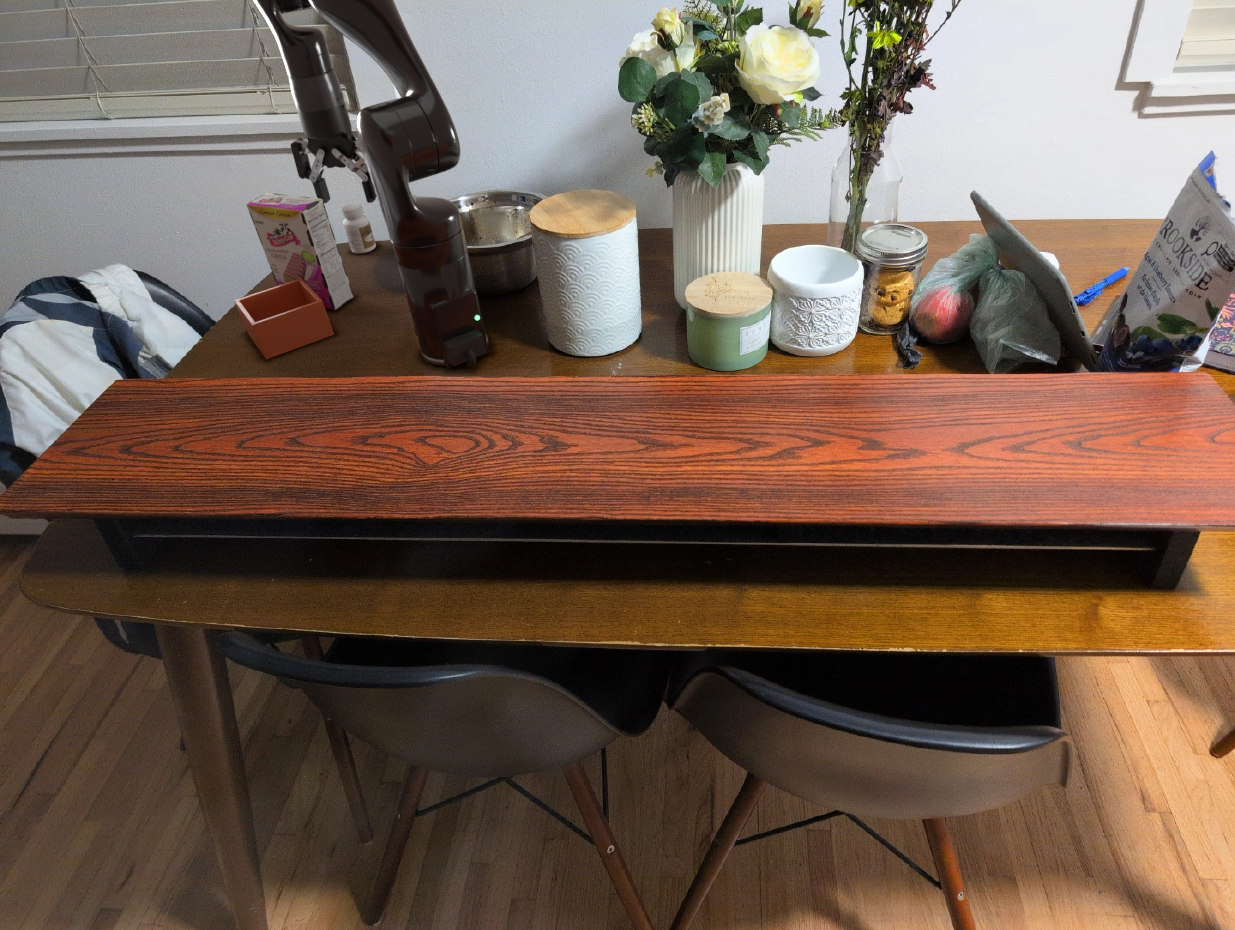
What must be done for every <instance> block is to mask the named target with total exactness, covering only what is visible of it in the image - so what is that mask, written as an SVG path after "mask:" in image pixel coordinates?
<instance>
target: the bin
mask: <svg viewBox="0 0 1235 930" xmlns="http://www.w3.org/2000/svg"><path fill="white" fill-rule="evenodd" d="M233 301H234V304H235V306H236V308H237V311H238V313H239V316H240V319H241V321H242V323H243V325H244V327H245V330H246V333H247V334H248V336H249V337H250V339H251V340H252V342H253V343H254V344H255V346H256V347H257V348H258V350H259V351H260V353H261V354H262V356H263V357H264V359H265V360H268V359H272V358H275V357H277V356H280V355H283V354H285V353H288V352H291V351H293V350H297V349H299V348H301V347H304V346H307V345H310V344H312V343H315V342H319V341H321V340H324V339H326V338H329V337H332V336H334V335H335V333H334V331H333V327H332V324H331V321H330V319H329V315H328V312H327V309H326V308H325V307H324V304H323V301H322V300H321V299H320V298H319V297H318V296H317V295H316V293H315V292H314V291H313V290H312V289H311V288H310V287H309V286H308V285H307V284H306V283H305V282H304V281H303V280H302V279H301V278H300V279H297V280H294V281H291V282H288V283H285V284H282V285H279V286H277V285H276V286H273V287H270V288H267V289H265V290H261V291H258V292H255V293H252V294H249V295H247V296H243V297H240V298H237V299H234V300H233Z"/></svg>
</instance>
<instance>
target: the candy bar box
mask: <svg viewBox="0 0 1235 930" xmlns="http://www.w3.org/2000/svg"><path fill="white" fill-rule="evenodd" d="M245 205H246V208H247V210H248V212H249V213H248V214H249V215H250V219H251V220H252V224H253V226H254V228H255V231H256V234H257V236H258V239H259V242H260V244H261V247H262V250H263V251H264V254H265V257H266V260H267V263H268V265H269V268H270V270H271V273H272V275H273V278H274V281H275V284H276V286H279V285H282V284H285V283H288V282H291V281H294V280H297V279H300V278H301V279H302V280H303V281H304V282H305V283H306V284H307V285H308V286H309V287H310V288H311V289H312V290H313V291H314V292H315V293H316V295H317V296H318V297H319V298H320V299H321V300H322V301H323V304H324V307H325V309H326V310H332V311H336V310H339V308H341V307H342V306H344V305H345V304H347V302H349V301H350V300H352V299H353V298H354V293H353V290H352V287H351V284H350V280H349V278H348V274H347V271H346V269H345V265H344V262H343V259H342V256H341V253H340V250H339V245H338V244H337V241H336V237H335V234H334V231H333V227H332V225H331V221H330V219H329V215H328V211H327V210H326V209H327V208H326V207H325V203H324V202H323V199H319V198H317V197H310V196H309V197H308V196H301V195H290V194H283V193H276V192H275V193H274V192H266V193H264V194H262V195H260V196H258V197H256V198H255V199H253V200H250V201H249V202H248V203H246V204H245Z"/></svg>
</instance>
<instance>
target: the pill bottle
mask: <svg viewBox="0 0 1235 930" xmlns="http://www.w3.org/2000/svg"><path fill="white" fill-rule="evenodd" d="M341 213H342V216H343V218H345V219H344V220H343V222H342V225H343V229H344V232H345V235H346V238H347V241H348V245H349V248H350V251H351V252H352V253H353V254H365V253H369V252H372V251H373V250H375V248H376V246H377V243H376V240H375V236H374V232H373V229H372V227H371V226H372V225H371V223H370V219H369V217H368V215H365V214H364V213H365V211H364V208H363V205H362V203H361V202H360V203H359V202H351V203H347V204H345V205H343V206H342V207H341Z"/></svg>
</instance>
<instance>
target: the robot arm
mask: <svg viewBox="0 0 1235 930" xmlns="http://www.w3.org/2000/svg"><path fill="white" fill-rule="evenodd" d="M252 1H253V3H254V5H255V7H256V8H257V10H258V11H259V13H260V14H261V16H262V18H263V19H264V21H265V22H266V24H267V26H268V28H269V29H270V31H271V33H272V35H273V37H274V40H275V42H276V44H277V46H278V49H279V52H280V55H281V59H282V61H283V65H284V68H285V71H286V74H287V78H288V83H289V88H290V93H291V96H292V99H293V103H294V105H295V109H296V111H297V116H298V118H299V122H300V125H301V128H302V131H303V134H304V136H305V137H306V140H304V139H303V138H302V137H298V138H297V139H295V140H294V141H293V142H291V143H290V150H291V153H292V157H293V160H294V165H295V168H296V171H297V175H298V177H299V179H301V180H304V179H306V180H308V181H310V182H311V183H312V186H313V189H314V192H315V196H316V198H319V199H323V202H324V204H327V203H328V202H329V201H331V195H330V193H329V192H330V191H329V188H328V185H327V182H326V178H325V177H323V175H324V173H325V170H326V168H327V169H333V168H340V169H343V168H344V169H345V168H347V169H348V170H349V171H350V172H352V173H354V174H356V175H357V177H359V178H360V179H361V180H362V181H361V185H362V189H363V192H364V196H365V200H366V203H367V204H372V203H374V202H375V201H376V200H377V202H378V206H379V209H380V212H381V215H382V217H383V219H384V223H385V225H386V229H387V232H388V236H389V239H390V243H391V247H392V250H393V253H394V256H395V257H394V258H395V260H396V264H397V268H398V272H399V275H400V279H401V283H402V286H403V290H404V294H405V298H406V301H407V304H408V305H407V306H408V309H409V312H410V314H411V319H412V324H413V330H414V333H415V337H417V340H418V344H419V350H420V355H421V358H422V359H423V360H424V361H425V362H426V363H428V364H430V365H434V366H440V367H446V368H447V369H449V370H451V369H454V368H456V367H458V366H461V365H463V364H465V366H466V368H467V369H472V368H473V367H475V366H476V363H477V359H478V358H480V357H483V356H485V355H488V354H490V351H489V337H488V334H487V332H486V327H485V323H484V318H483V314H482V310H481V304H480V301H479V296H478V292H477V291H478V290H477V288H476V282H475V277H474V273H473V268H472V263H471V259H470V255H469V250H468V244H467V240H466V235H465V231H464V226H463V222H462V217H461V213H460V210H459V208H458V205H456V204H455V202H453V201H451V200H449V199H446V198H442V197H435V196H420V195H415V194H413V193H412V191H411V189H410V188H411V187H410V185H409V184H410V183H414V182H417V181H420V180H423V179H426V178H430V177H433V176H436V175H438V174H442V173H444V172H447V171H450V170H452V169H454V168H455V167H456V166H457V165H458V164H459V162H460V159H461V143H460V139H459V135H458V132H457V128H456V125H455V123H454V120H453V118H452V116H451V114H450V111H449V108H448V107H447V105H446V103H445V101H444V99H443V97H442V95H441V93H440V91H439V90H438V87H437V85H436V83H435V81H434V79H433V78H432V76H431V74H430V72H429V70H428V69H427V66H426V65H425V63H424V61H423V59H422V57H421V55H420V54H419V52H418V50H417V47H416V46H415V43H414V42H413V40H412V38H411V36H410V34H409V31H408V30H407V28H406V26H405V22H404V20H403V19H402V16H401V14H400V12H399V9H398V7H397V5H396V3H395V1H394V0H252ZM312 9H314V10H315V11H316V12H317V14H318V15H319V16H320V17H321V18H322V19H323V20H325V22H327V23H328V24H329V25H330V26H331V27H332V28H334V29H335V30H336V31H338V32H339V33H340V34H341V35H342V36H344V37H345V38H346V39H348V40H349V41H350V42H352V43H353V44H354V45H356V46H357V47H358V48H360V49H361V50H362V51H363V52H365V53H366V54H367V55H368V56H369V57H370V58H371V59H372V60H373V61H374V62H376V64H377V65H378V66H379V67H380V68H381V69H382V70H383V72H384V73H385V74H386V76H387V77H388V79H389V80H390V81H391V83H392V84H393V86H394V88H395V89H396V91H397V93H398V94H399V96H400V97H397V98H393V99H390V100H386V101H382V102H379V103H375V104H372V105H368V106H365V107H363V108H362V109H360V110H359V111H358V113H357V116H356V122H355V123H356V124H355V125H356V126H355V127H356V134H357V138H356V137H355V136H354V133H353V128H352V123H351V118H350V115H349V111H348V108H347V105H346V101H345V97H344V96H345V95H344V93H343V91H342V87H341V84H340V81H339V78H338V76H337V74H336V71H335V68H334V65H333V61H332V57H331V54H330V50H329V47H328V43H327V39H326V37H325V34H324V33H323V31H322V30H321V29H320V28H317V27H312V26H300V25H299V26H297V25H292V24H290V23H288V22H287V21H286V20H285V19H284V17H283V15H284V14H288V13H294V12H299V11H300V12H301V11H306V10H307V11H308V10H312ZM358 149H359V151H360V153H362V155H361V154H359V153H358V151H357V150H358ZM309 152H310V153H311V154H312V156H314V157H315V158H314V161H313V163H312V166H311V163H310V162H311V161H310V158H309V154H308V153H309ZM362 156H363V157H362Z"/></svg>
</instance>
